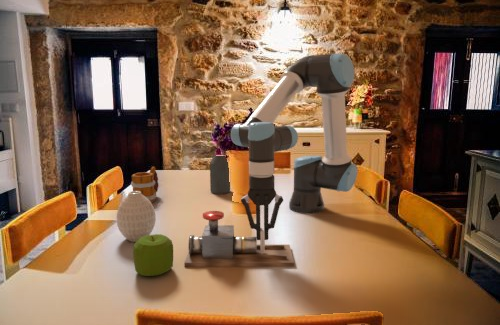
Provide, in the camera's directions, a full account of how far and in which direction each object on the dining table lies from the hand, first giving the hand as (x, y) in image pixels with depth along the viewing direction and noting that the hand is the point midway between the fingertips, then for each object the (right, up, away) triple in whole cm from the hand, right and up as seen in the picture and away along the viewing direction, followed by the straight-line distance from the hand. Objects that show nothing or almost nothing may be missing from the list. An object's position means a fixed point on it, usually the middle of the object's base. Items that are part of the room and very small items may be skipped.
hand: (262, 249), depth 113 cm
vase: (-43, 0, +15) cm, 45 cm away
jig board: (-7, -2, +1) cm, 7 cm away
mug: (-53, +9, +61) cm, 81 cm away
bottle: (-19, +11, +75) cm, 78 cm away
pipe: (-7, -1, 0) cm, 7 cm away
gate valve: (-16, -1, 0) cm, 16 cm away
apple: (-31, -4, -9) cm, 32 cm away
